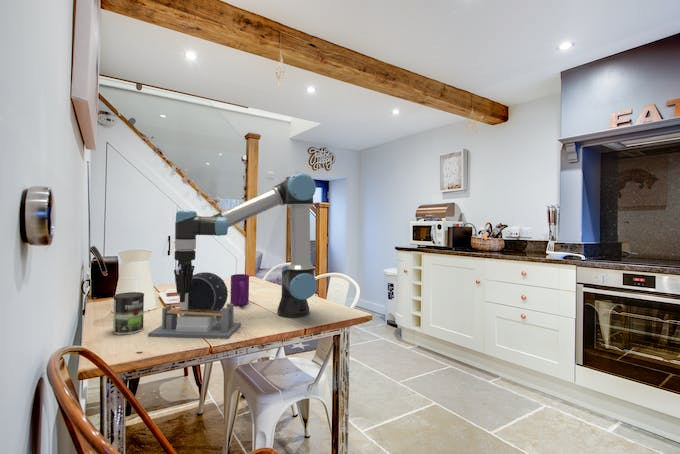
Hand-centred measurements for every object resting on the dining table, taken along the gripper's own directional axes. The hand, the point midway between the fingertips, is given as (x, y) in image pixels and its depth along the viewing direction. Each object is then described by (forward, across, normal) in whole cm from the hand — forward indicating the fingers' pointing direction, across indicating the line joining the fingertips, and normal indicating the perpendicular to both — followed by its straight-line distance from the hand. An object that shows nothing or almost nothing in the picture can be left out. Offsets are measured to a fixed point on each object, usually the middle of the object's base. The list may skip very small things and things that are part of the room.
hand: (183, 309), depth 138 cm
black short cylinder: (+9, -19, 0) cm, 21 cm away
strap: (+2, 0, +6) cm, 7 cm away
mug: (+8, -41, +11) cm, 43 cm away
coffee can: (+9, +2, -20) cm, 22 cm away
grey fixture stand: (+8, 0, +6) cm, 10 cm away
